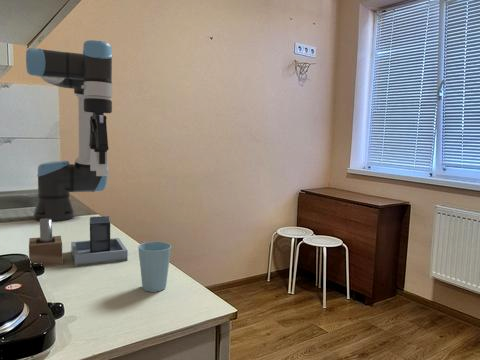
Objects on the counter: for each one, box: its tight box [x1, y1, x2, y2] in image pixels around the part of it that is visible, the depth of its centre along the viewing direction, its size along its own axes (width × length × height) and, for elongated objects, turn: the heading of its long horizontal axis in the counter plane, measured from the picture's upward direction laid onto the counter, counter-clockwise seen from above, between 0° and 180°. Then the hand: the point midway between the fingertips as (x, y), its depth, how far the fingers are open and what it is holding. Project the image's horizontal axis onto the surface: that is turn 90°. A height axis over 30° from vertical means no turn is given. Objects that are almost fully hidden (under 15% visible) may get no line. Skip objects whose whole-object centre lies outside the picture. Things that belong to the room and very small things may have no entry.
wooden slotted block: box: [28, 235, 63, 267], centre depth 108 cm, size 8×8×6 cm
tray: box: [70, 237, 129, 267], centre depth 114 cm, size 14×14×3 cm
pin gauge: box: [39, 218, 53, 243], centre depth 108 cm, size 3×3×12 cm
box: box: [89, 215, 111, 253], centre depth 114 cm, size 8×6×11 cm
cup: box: [137, 241, 172, 293], centre depth 93 cm, size 8×8×10 cm
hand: (98, 173), depth 112 cm, fingers open, 13 cm apart
